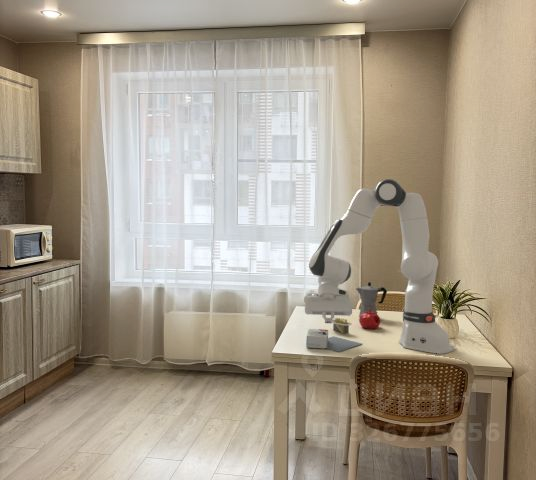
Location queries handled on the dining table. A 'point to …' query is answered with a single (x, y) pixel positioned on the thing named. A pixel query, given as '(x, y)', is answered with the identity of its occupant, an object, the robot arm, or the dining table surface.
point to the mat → (340, 344)
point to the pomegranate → (369, 320)
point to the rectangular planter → (341, 325)
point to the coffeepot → (370, 297)
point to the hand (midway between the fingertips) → (328, 322)
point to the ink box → (317, 338)
